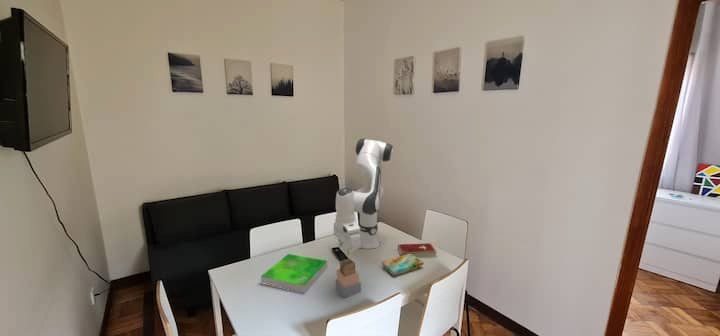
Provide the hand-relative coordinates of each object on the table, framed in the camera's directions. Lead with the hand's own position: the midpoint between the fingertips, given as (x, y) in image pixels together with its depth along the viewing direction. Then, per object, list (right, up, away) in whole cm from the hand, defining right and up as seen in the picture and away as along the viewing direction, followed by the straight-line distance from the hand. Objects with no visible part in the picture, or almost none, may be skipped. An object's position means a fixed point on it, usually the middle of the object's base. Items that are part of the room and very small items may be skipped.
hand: (345, 251), depth 139 cm
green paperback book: (-27, -19, +18) cm, 38 cm away
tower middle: (+1, -16, +4) cm, 16 cm away
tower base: (+1, -21, +5) cm, 21 cm away
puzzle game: (+30, -17, +25) cm, 42 cm away
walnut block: (+1, -11, +3) cm, 11 cm away
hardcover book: (+41, -14, +42) cm, 60 cm away
